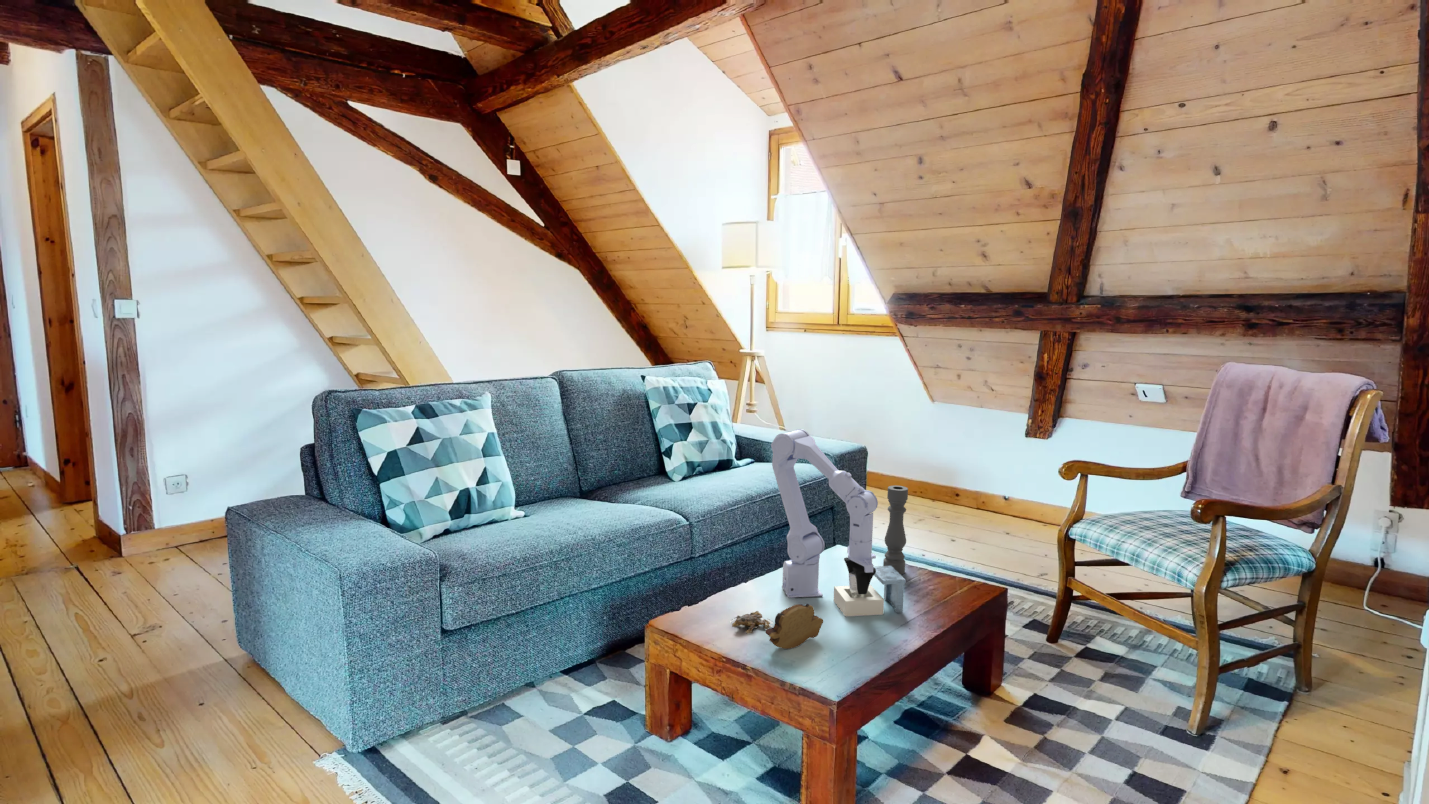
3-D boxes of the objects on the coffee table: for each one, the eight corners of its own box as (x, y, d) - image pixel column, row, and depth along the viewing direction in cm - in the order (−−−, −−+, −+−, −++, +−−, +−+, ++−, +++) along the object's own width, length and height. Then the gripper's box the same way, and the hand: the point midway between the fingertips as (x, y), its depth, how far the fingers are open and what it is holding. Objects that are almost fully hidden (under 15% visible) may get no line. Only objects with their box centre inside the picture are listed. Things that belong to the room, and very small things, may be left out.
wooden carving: (809, 632, 194) (811, 592, 193) (824, 638, 191) (825, 598, 189) (761, 652, 183) (762, 610, 182) (775, 659, 180) (776, 617, 179)
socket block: (845, 616, 203) (845, 601, 203) (833, 600, 213) (834, 586, 213) (883, 614, 205) (883, 599, 204) (869, 599, 215) (870, 584, 214)
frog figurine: (753, 642, 189) (753, 626, 189) (717, 626, 198) (718, 611, 197) (785, 628, 197) (786, 613, 197) (750, 613, 206) (750, 599, 205)
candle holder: (905, 576, 232) (909, 491, 228) (883, 574, 233) (887, 490, 229) (904, 568, 238) (908, 486, 234) (883, 566, 239) (886, 484, 235)
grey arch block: (881, 614, 205) (882, 580, 203) (868, 599, 215) (869, 566, 213) (903, 613, 206) (905, 579, 204) (889, 598, 215) (891, 565, 214)
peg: (868, 605, 207) (866, 576, 205) (853, 607, 207) (851, 579, 205) (863, 598, 211) (861, 570, 209) (848, 600, 210) (846, 572, 209)
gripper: (885, 547, 200) (883, 599, 202) (866, 529, 214) (864, 578, 216) (858, 548, 199) (856, 601, 201) (840, 530, 213) (838, 579, 215)
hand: (858, 589), depth 208 cm, fingers open, 5 cm apart
